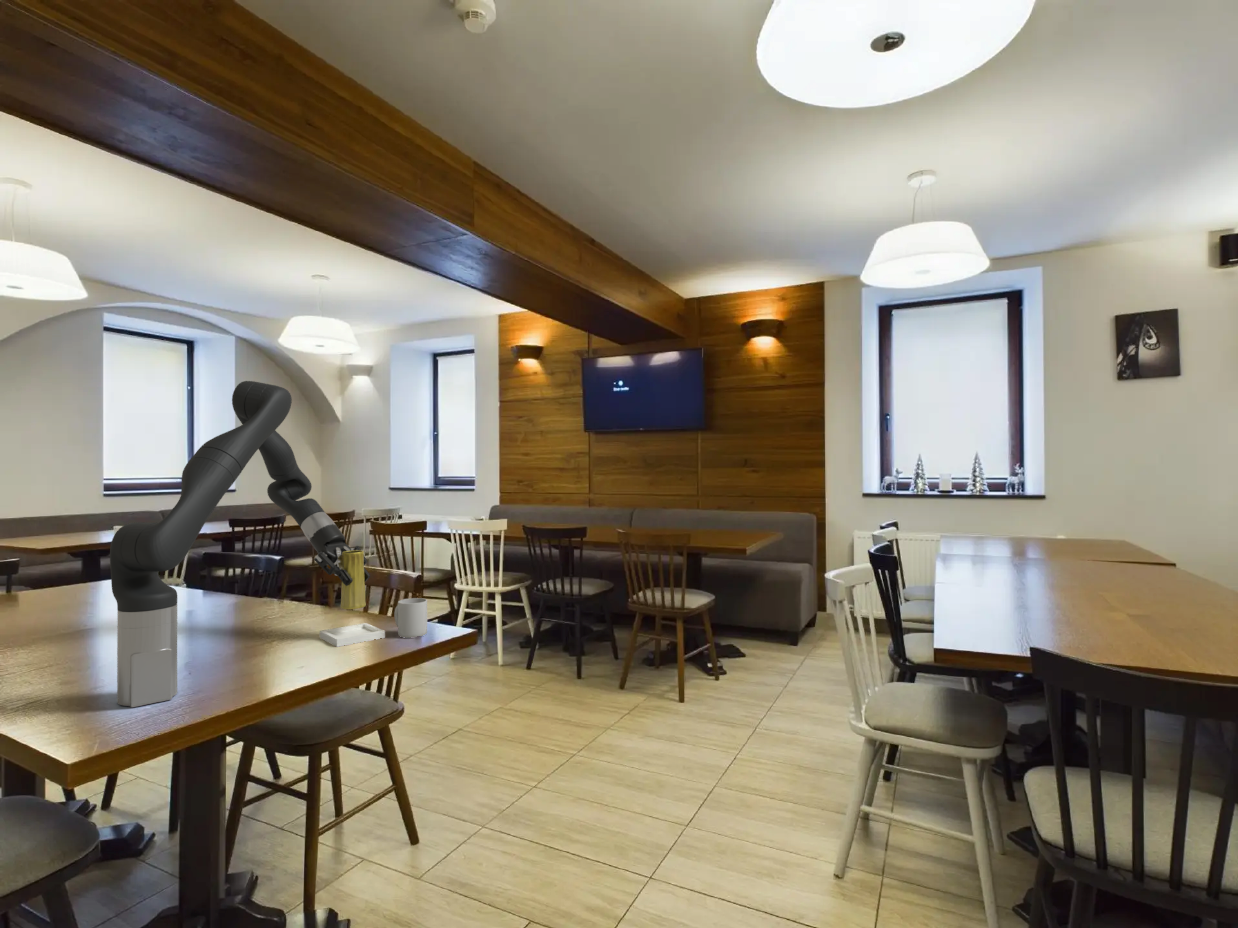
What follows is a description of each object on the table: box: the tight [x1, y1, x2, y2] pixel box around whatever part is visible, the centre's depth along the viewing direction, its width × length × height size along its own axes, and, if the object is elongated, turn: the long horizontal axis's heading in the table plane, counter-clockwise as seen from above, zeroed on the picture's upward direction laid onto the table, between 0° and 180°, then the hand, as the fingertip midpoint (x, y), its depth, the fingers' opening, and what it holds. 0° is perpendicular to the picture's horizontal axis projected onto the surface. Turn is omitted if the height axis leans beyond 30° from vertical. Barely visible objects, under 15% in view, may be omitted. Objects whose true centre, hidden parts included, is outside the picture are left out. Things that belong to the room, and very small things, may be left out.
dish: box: [319, 622, 386, 648], centre depth 166 cm, size 12×12×2 cm
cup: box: [393, 597, 428, 639], centre depth 169 cm, size 7×10×9 cm
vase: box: [339, 549, 367, 610], centre depth 166 cm, size 6×6×14 cm
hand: (358, 581), depth 166 cm, fingers closed on vase, 5 cm apart
